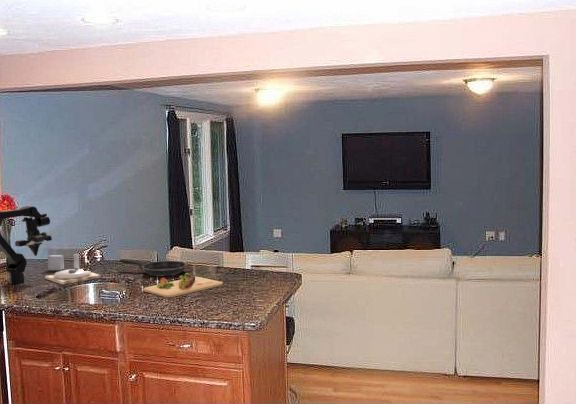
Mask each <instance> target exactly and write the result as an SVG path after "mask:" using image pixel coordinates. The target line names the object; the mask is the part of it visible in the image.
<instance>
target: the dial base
mask: <svg viewBox="0 0 576 404" xmlns="http://www.w3.org/2000/svg"><path fill="white" fill-rule="evenodd" d="M90 272H91V274H90V275H88V276H85V277H80V278H72V279H59V278H55V274H50V275H45V276H44V278H45V280H47V281H51V282H54V283H57V284H60V285H67V284H73V283H80V282H85V281H89V280H94V279H99V278H101V274H99V273H95V272H92V271H90Z"/></svg>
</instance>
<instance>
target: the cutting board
mask: <svg viewBox="0 0 576 404" xmlns="http://www.w3.org/2000/svg"><path fill="white" fill-rule="evenodd" d="M179 278H180V279H178V280H174V281H169V282H168V279H166V278H165V277H162V278H161V279H160V280H159V281H160V282H159V283H158V284H156V285H150V286H146V287H144V288H143V292H145V293H146V292H147V293H150V294H153V295H156V296H160V297H163V298H175V297H177V296H182V295H186V294H187V295H188V294H191V293H195V292H199V291H204V290H207V289H212V288H217V287H220V286H223V285H224V282H223V281H219V280H214V279H209V278H205V277H201V276H196V275H192V274H190V273H189V272H186V273H184V275H180V276H179Z"/></svg>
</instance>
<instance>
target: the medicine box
mask: <svg viewBox="0 0 576 404" xmlns="http://www.w3.org/2000/svg"><path fill="white" fill-rule="evenodd" d="M47 266H48V271H63V270H65V262H64V254H56V255H55V254H52V255H48V256H47ZM62 269H63V270H62Z"/></svg>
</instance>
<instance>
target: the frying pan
mask: <svg viewBox="0 0 576 404" xmlns="http://www.w3.org/2000/svg"><path fill="white" fill-rule="evenodd" d="M119 263H123V264H126V265H127V264H129V265H135V266H138V267H139V268H140V270H142V271H144V272H145V273H146V274H147V275H149V276H153V277H169V276H176V275H179V274H181V273H182V272H183V271H184V270H185V267H186V266H187V263H186V262H183V261H179V260H161V261H151V262H148V263H144V262H142V261H139V260H135V259H128V258H123V259H119Z"/></svg>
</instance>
